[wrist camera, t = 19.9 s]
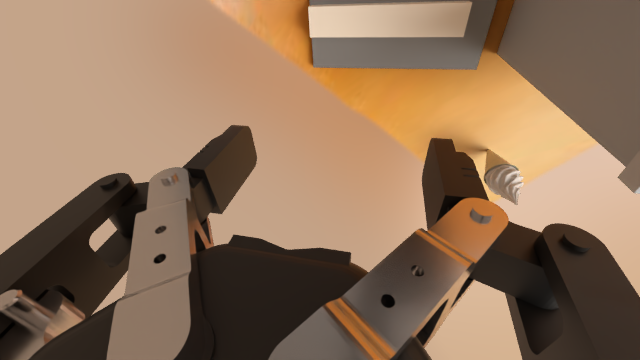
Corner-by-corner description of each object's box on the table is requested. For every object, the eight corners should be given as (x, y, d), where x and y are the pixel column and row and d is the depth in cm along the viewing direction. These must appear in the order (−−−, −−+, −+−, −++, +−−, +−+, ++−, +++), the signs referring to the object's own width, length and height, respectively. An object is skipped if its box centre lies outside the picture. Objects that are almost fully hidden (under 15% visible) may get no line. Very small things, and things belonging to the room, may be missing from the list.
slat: (313, 34, 43) (310, 37, 41) (312, 4, 41) (308, 6, 39) (460, 33, 39) (463, 37, 37) (468, 0, 36) (472, 2, 34)
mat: (315, 65, 47) (313, 67, 46) (309, -36, 39) (307, -36, 38) (474, 67, 42) (476, 69, 41) (509, -50, 33) (512, -50, 32)
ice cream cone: (501, 160, 51) (532, 217, 39) (471, 162, 52) (492, 217, 41) (506, 137, 48) (541, 191, 36) (475, 139, 49) (498, 192, 38)
